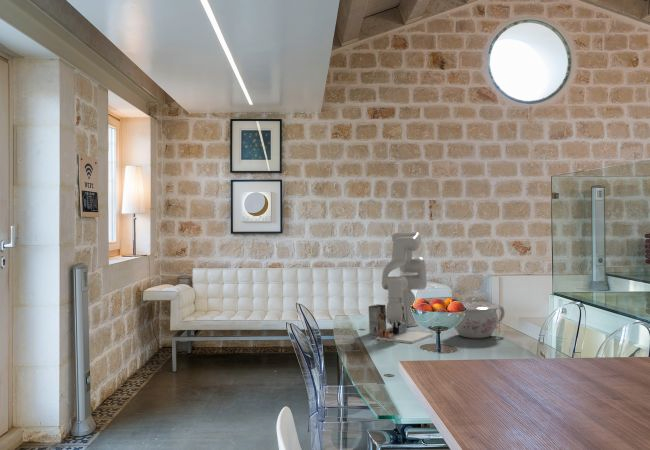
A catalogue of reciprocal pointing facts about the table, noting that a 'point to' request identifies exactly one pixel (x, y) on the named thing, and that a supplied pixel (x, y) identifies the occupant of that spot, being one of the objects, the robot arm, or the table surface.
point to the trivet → (408, 337)
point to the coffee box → (377, 318)
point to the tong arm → (390, 332)
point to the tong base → (382, 331)
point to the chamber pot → (479, 319)
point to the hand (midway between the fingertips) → (396, 334)
